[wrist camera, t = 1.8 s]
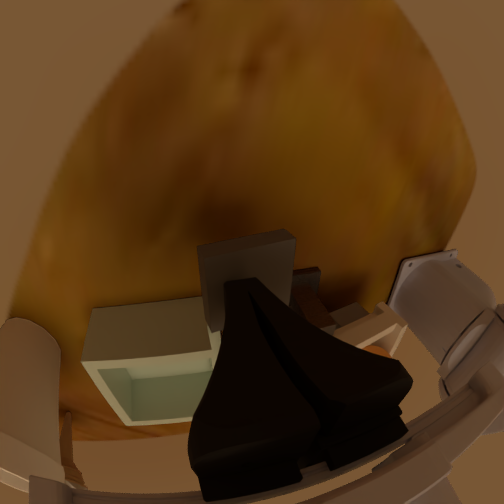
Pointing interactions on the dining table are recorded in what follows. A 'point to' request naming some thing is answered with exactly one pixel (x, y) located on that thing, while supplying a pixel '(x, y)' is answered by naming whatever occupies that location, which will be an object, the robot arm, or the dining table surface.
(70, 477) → the ice cream cone
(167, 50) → the dining table surface
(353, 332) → the lever board
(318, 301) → the lever stand
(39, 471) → the foam cup
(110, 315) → the cup
